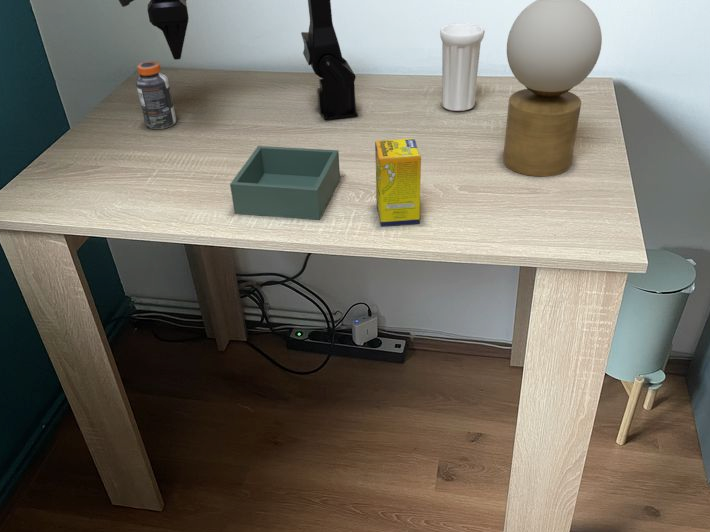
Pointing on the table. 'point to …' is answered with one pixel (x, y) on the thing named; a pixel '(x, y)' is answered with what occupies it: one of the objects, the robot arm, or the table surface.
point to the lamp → (548, 83)
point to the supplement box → (398, 181)
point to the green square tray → (286, 182)
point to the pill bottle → (155, 96)
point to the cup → (460, 64)
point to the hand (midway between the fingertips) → (176, 50)
